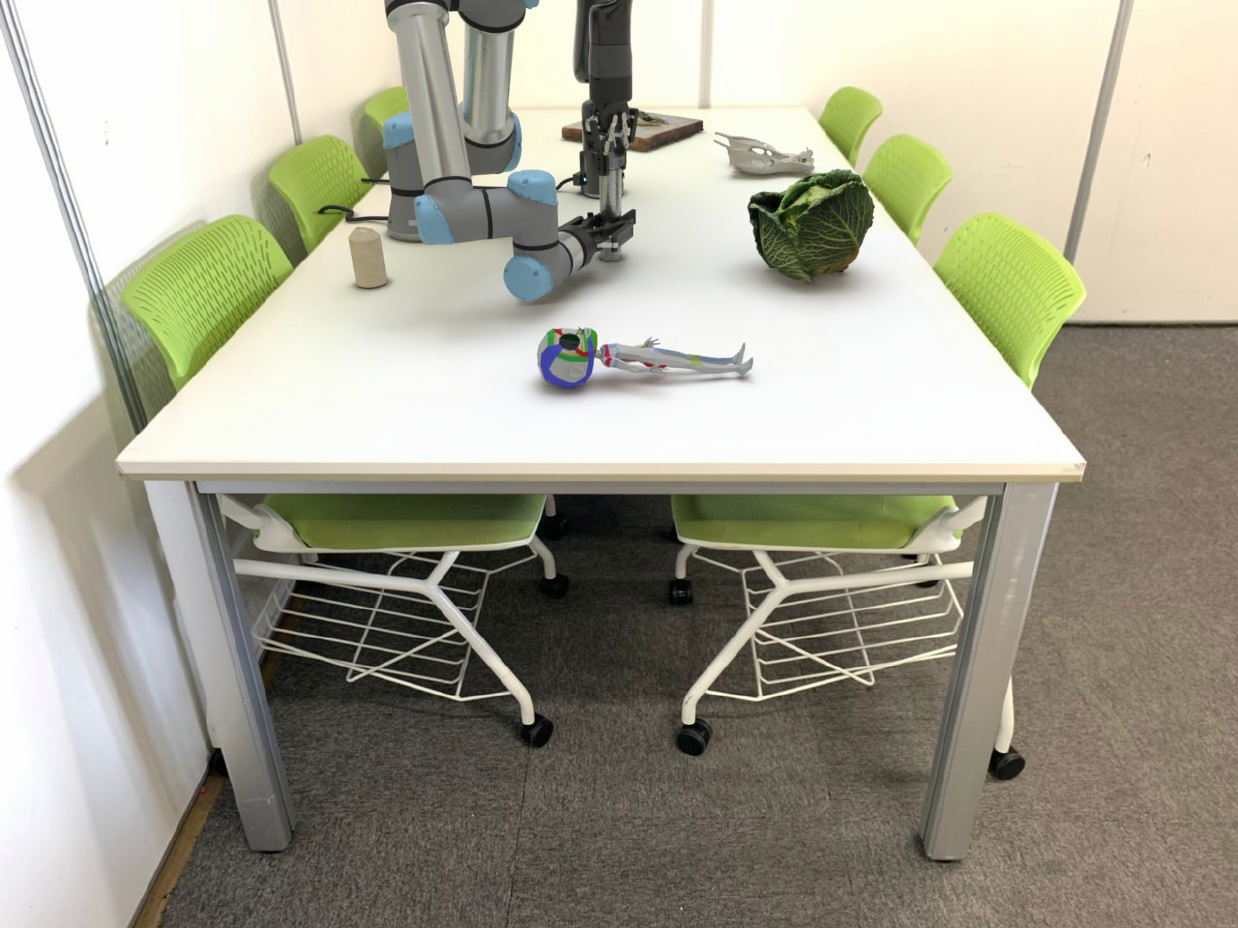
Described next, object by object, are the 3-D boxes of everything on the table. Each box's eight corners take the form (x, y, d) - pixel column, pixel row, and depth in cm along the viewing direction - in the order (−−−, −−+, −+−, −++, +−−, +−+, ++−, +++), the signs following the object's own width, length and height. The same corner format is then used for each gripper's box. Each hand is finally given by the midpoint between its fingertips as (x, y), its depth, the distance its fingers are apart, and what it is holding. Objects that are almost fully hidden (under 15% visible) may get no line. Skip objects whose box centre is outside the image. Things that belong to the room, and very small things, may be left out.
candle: (393, 278, 163) (384, 224, 158) (377, 289, 159) (367, 234, 154) (367, 275, 165) (358, 222, 160) (350, 286, 160) (340, 231, 155)
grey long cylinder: (623, 260, 170) (623, 162, 161) (602, 262, 170) (601, 163, 160) (618, 253, 174) (618, 156, 164) (598, 255, 173) (597, 157, 163)
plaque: (647, 125, 237) (559, 112, 252) (647, 153, 241) (560, 139, 256) (706, 107, 258) (622, 97, 273) (705, 133, 262) (622, 121, 277)
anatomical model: (715, 128, 226) (815, 127, 222) (715, 165, 231) (813, 164, 227) (711, 142, 214) (818, 141, 210) (711, 181, 219) (815, 181, 215)
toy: (760, 356, 123) (541, 338, 118) (747, 410, 127) (536, 395, 123) (743, 326, 131) (539, 309, 127) (732, 378, 136) (534, 363, 131)
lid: (602, 160, 165) (602, 151, 164) (627, 162, 164) (627, 152, 163) (595, 167, 161) (594, 157, 160) (620, 168, 160) (620, 159, 159)
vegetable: (773, 300, 170) (724, 207, 162) (854, 244, 171) (810, 148, 164) (823, 314, 152) (771, 210, 144) (914, 251, 153) (867, 144, 145)
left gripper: (524, 266, 160) (583, 228, 177) (611, 280, 153) (663, 239, 171) (521, 225, 156) (582, 190, 173) (610, 237, 149) (664, 200, 167)
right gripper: (618, 64, 161) (618, 161, 170) (567, 75, 151) (570, 178, 160) (652, 68, 157) (651, 167, 166) (602, 79, 147) (603, 184, 157)
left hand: (622, 214), depth 172 cm, fingers closed on grey long cylinder, 4 cm apart
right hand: (611, 172), depth 163 cm, fingers closed on lid, 4 cm apart
